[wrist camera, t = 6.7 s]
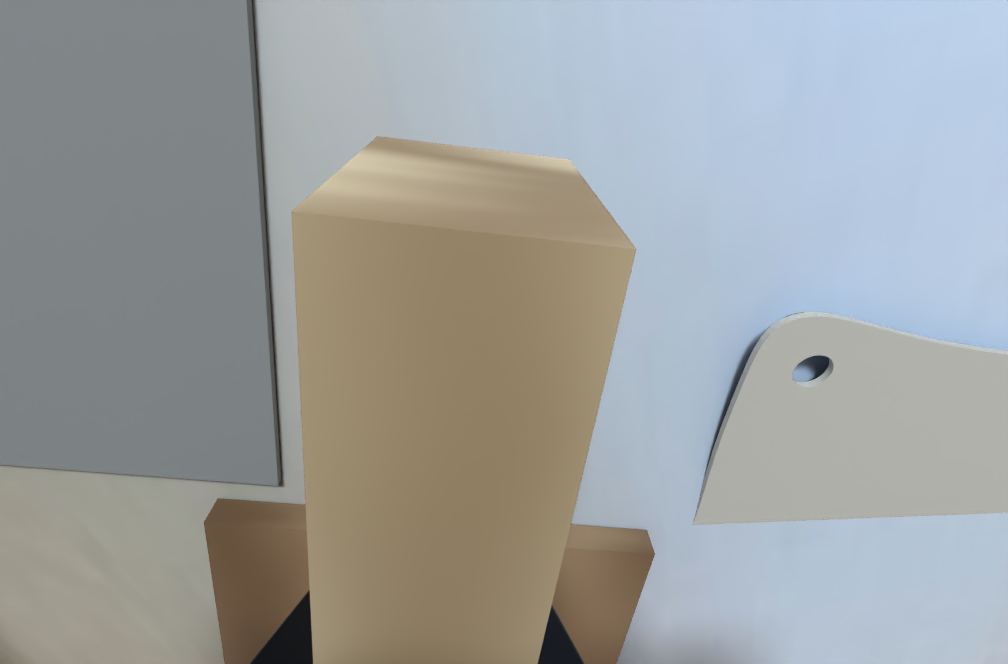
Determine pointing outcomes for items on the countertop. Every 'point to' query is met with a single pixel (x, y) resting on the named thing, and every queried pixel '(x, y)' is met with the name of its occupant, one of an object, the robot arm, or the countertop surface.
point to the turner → (447, 394)
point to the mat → (134, 242)
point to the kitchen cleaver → (860, 428)
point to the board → (285, 580)
